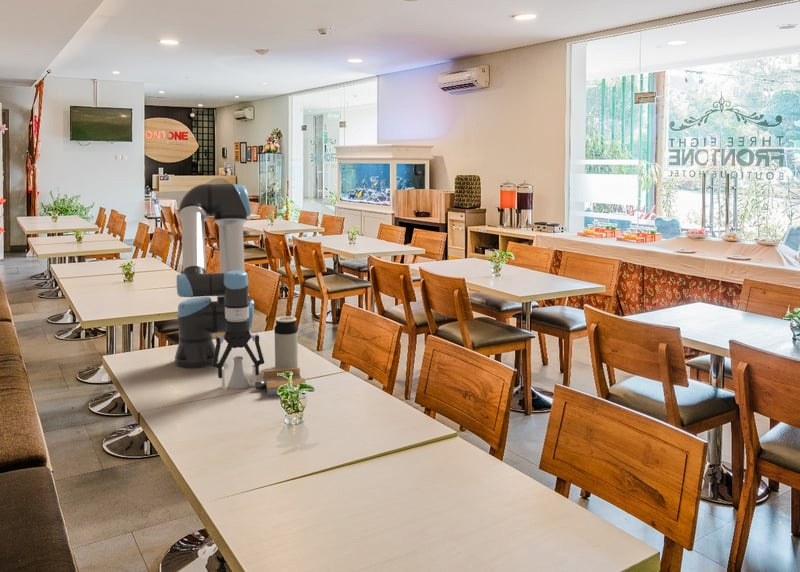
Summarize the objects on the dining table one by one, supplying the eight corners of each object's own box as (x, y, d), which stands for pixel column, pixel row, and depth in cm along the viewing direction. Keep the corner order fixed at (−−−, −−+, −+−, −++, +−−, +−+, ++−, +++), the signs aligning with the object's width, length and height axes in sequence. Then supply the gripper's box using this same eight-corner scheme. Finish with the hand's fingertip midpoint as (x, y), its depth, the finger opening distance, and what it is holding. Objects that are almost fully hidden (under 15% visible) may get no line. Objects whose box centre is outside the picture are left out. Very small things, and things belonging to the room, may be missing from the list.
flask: (253, 383, 229) (252, 354, 227) (246, 390, 222) (245, 361, 220) (231, 382, 230) (231, 353, 228) (224, 389, 223) (223, 360, 221)
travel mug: (302, 366, 248) (301, 317, 245) (287, 372, 241) (286, 322, 238) (285, 362, 252) (284, 314, 249) (270, 368, 246) (269, 319, 242)
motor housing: (253, 383, 229) (253, 370, 228) (299, 379, 234) (298, 367, 233) (257, 397, 216) (257, 383, 215) (305, 393, 220) (305, 380, 220)
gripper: (202, 323, 215) (204, 392, 219) (272, 320, 221) (273, 386, 225) (201, 318, 222) (204, 385, 226) (270, 314, 228) (271, 379, 232)
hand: (239, 385), depth 226 cm, fingers open, 9 cm apart
